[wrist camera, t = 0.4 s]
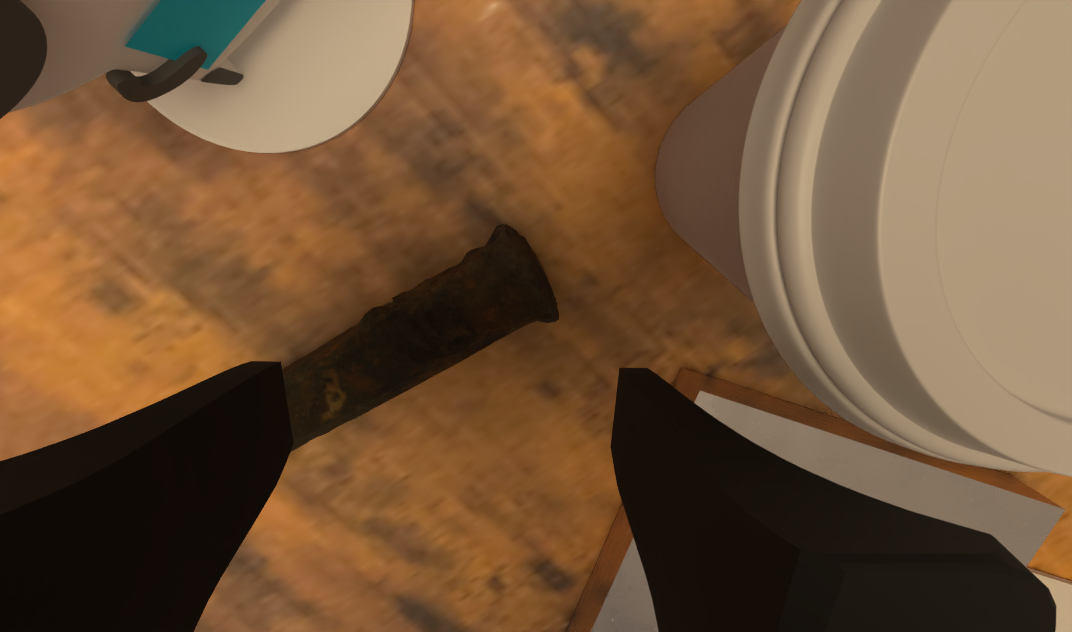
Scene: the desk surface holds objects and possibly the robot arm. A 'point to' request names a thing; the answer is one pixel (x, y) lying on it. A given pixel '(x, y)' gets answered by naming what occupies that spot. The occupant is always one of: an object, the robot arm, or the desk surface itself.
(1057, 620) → the rubber pad
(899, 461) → the housing block
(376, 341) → the hand tool
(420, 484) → the desk surface
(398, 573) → the desk surface
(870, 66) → the coffee cup
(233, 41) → the panda figurine
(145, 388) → the desk surface
